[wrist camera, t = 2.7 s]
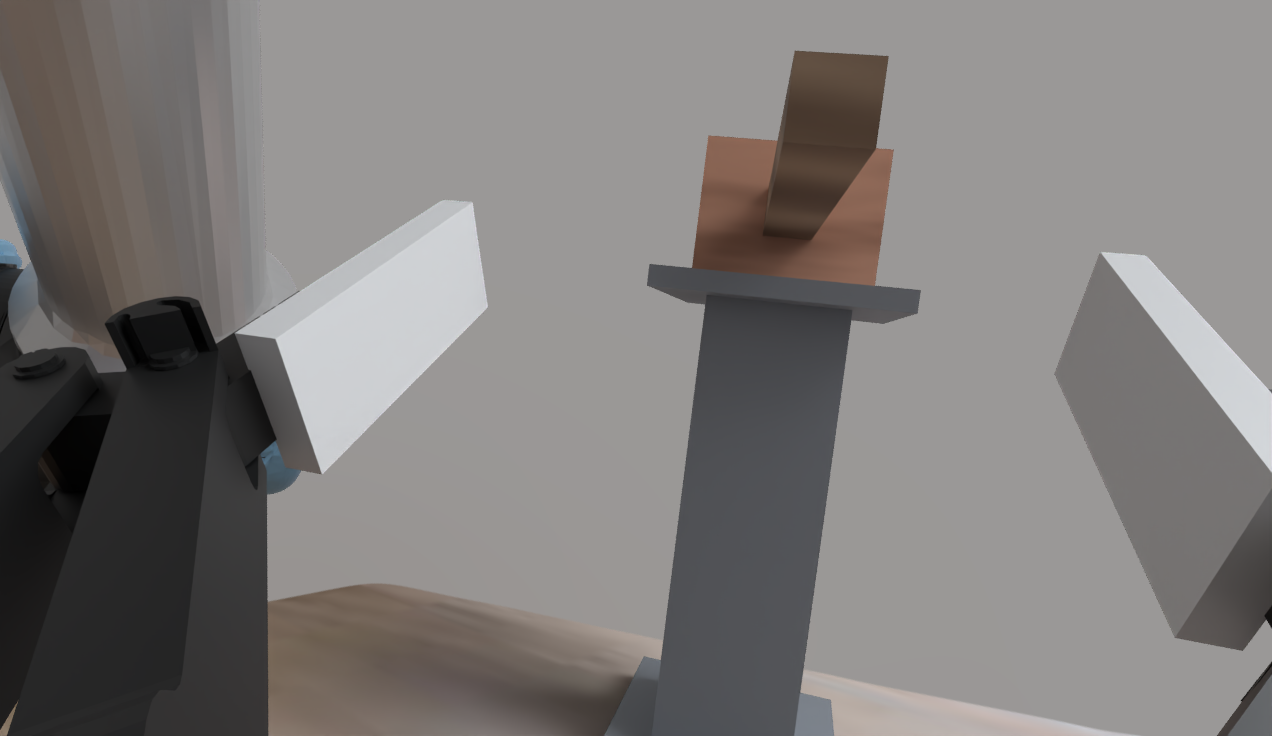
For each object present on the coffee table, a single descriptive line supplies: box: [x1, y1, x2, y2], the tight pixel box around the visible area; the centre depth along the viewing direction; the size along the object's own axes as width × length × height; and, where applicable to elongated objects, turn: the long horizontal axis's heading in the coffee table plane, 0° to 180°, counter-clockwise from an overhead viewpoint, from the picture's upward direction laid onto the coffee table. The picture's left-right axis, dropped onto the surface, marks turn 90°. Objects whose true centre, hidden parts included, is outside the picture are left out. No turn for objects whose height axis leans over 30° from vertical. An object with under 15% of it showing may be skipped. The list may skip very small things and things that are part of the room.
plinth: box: [604, 264, 921, 736], centre depth 37 cm, size 12×12×26 cm
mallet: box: [692, 51, 894, 286], centre depth 29 cm, size 23×9×7 cm, turn 171°
